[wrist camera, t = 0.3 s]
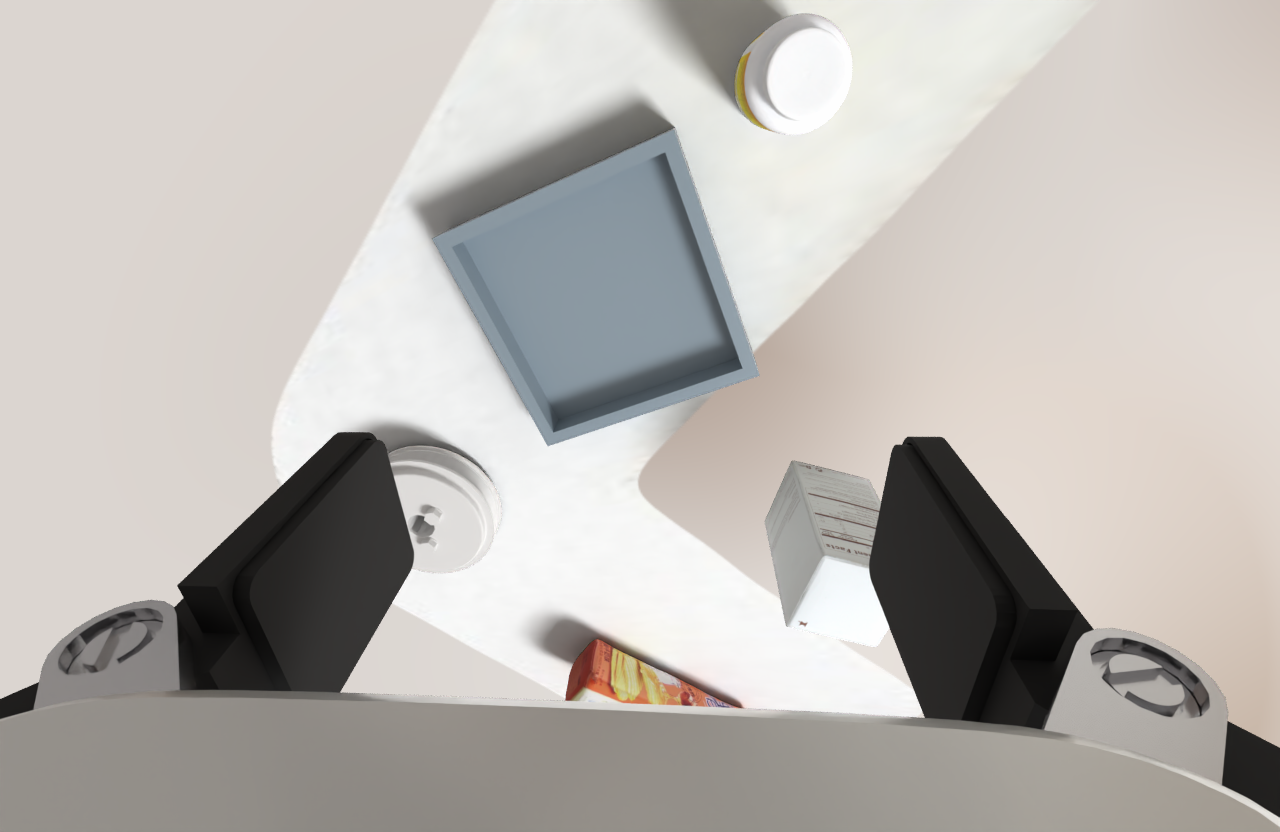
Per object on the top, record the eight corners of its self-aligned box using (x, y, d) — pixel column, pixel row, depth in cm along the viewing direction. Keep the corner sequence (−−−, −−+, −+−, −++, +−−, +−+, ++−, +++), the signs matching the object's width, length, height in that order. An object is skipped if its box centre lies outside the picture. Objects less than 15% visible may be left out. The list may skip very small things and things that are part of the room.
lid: (450, 567, 60) (432, 604, 56) (347, 490, 56) (318, 524, 52) (531, 503, 55) (518, 537, 51) (425, 414, 51) (401, 443, 47)
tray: (447, 230, 43) (432, 238, 41) (674, 127, 39) (674, 129, 36) (554, 428, 51) (547, 446, 48) (755, 359, 47) (759, 375, 44)
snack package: (755, 705, 67) (762, 764, 61) (720, 733, 70) (724, 792, 64) (597, 626, 63) (588, 682, 57) (567, 660, 65) (555, 716, 60)
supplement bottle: (775, 148, 39) (802, 162, 30) (715, 86, 38) (725, 83, 29) (840, 75, 37) (890, 67, 28) (779, 6, 36) (811, -25, 27)
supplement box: (837, 539, 55) (876, 651, 44) (762, 520, 54) (782, 629, 43) (872, 477, 51) (924, 581, 40) (791, 456, 51) (822, 556, 40)
